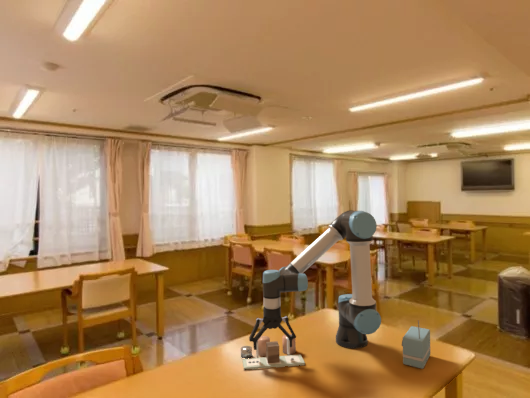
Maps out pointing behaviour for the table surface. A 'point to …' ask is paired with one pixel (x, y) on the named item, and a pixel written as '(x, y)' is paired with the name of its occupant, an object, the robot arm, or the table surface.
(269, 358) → the walnut block
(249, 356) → the tin
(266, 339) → the pink capsule pill
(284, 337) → the peach capsule
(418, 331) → the radio
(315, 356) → the table surface
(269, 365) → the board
